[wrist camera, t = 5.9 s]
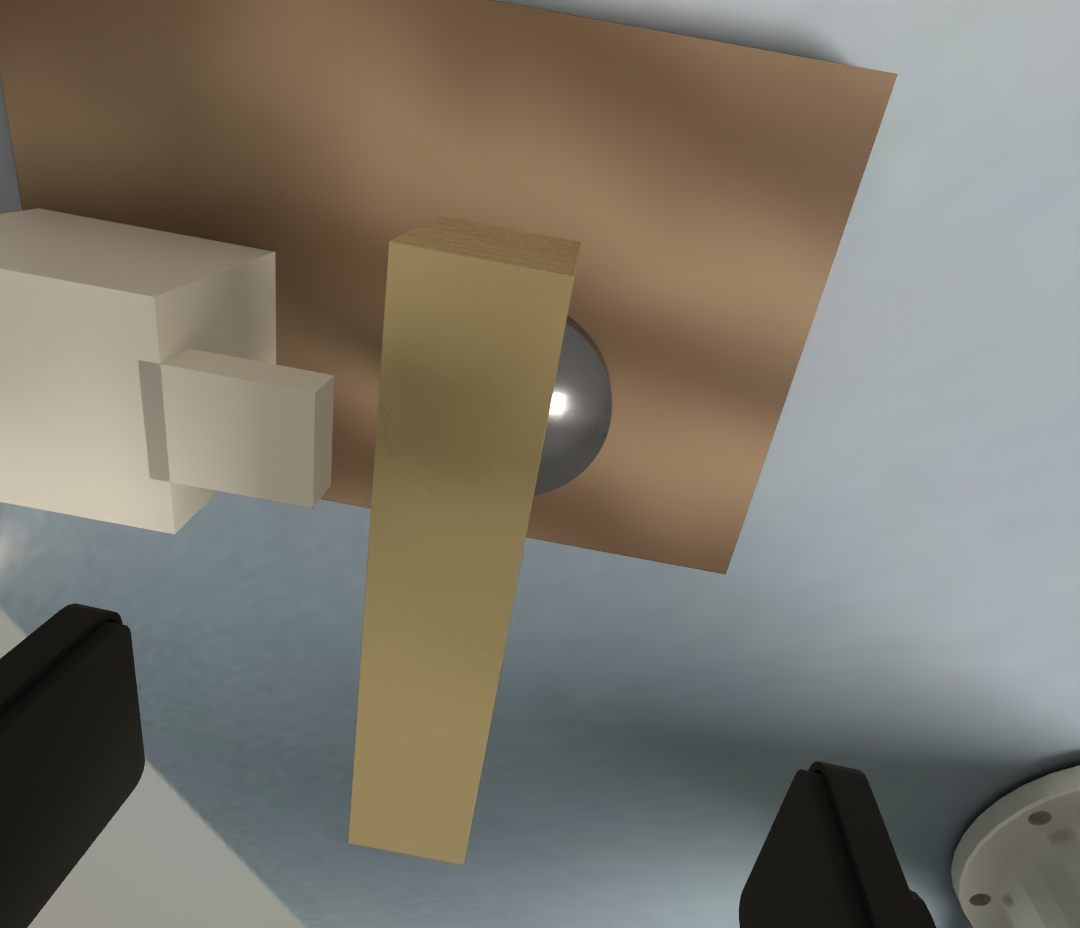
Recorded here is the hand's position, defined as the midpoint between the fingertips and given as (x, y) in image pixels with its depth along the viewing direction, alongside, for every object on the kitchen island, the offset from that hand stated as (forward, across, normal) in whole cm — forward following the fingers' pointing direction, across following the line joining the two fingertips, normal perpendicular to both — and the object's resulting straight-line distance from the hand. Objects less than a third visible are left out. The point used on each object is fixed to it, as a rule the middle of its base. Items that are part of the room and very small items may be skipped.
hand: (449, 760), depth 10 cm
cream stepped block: (+13, +10, -1) cm, 17 cm away
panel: (+15, +5, -3) cm, 16 cm away
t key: (+13, +1, -1) cm, 13 cm away
